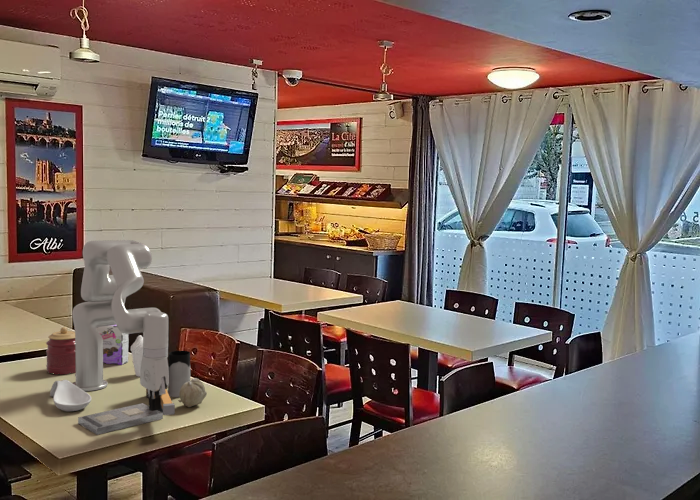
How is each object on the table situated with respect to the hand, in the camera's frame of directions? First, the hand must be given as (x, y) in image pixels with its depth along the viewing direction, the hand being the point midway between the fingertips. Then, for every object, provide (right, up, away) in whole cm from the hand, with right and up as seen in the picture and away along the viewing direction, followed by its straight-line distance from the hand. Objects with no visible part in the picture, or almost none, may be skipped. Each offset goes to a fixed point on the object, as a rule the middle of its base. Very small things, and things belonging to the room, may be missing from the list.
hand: (154, 409), depth 213 cm
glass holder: (-1, -2, +37) cm, 37 cm away
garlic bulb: (+7, -4, +20) cm, 22 cm away
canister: (-53, +1, +59) cm, 80 cm away
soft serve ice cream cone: (-21, 0, +56) cm, 60 cm away
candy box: (-40, +2, +74) cm, 84 cm away
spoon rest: (-35, -3, +19) cm, 40 cm away
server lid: (-12, -5, +4) cm, 13 cm away
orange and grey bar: (+2, +1, +3) cm, 4 cm away
